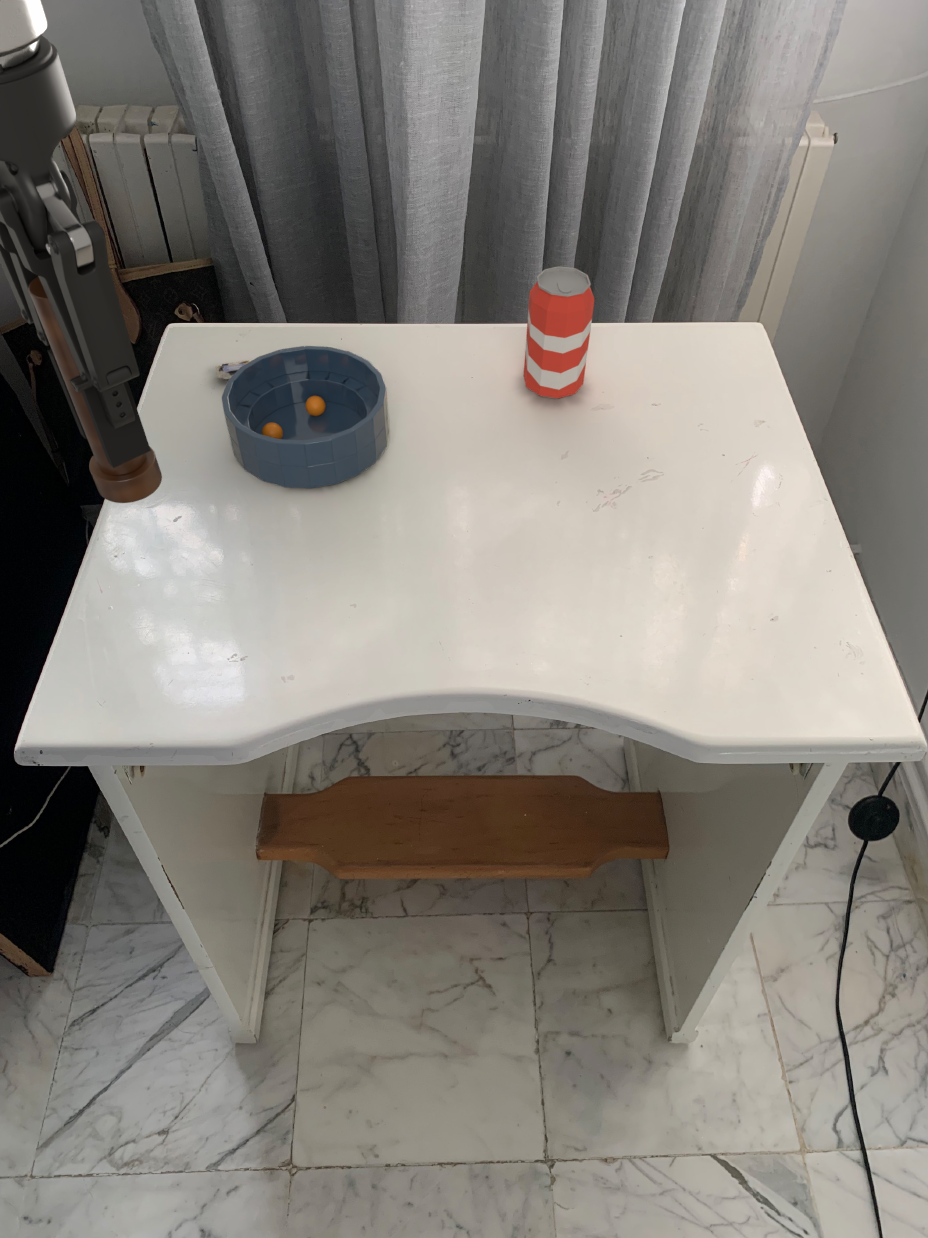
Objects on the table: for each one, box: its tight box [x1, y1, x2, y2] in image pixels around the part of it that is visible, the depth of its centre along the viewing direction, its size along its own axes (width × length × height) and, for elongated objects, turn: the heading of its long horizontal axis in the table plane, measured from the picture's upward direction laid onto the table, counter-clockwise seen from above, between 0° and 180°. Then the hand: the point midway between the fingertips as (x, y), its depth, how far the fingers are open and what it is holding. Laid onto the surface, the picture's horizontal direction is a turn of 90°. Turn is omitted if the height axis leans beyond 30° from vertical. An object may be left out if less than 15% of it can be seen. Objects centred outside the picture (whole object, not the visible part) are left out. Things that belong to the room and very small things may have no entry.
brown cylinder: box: [28, 276, 163, 504], centre depth 57 cm, size 4×4×15 cm
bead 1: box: [262, 423, 283, 439], centre depth 86 cm, size 2×2×2 cm
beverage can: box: [523, 265, 595, 400], centre depth 90 cm, size 6×6×12 cm
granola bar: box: [215, 359, 253, 380], centre depth 95 cm, size 7×2×1 cm, turn 103°
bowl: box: [221, 345, 390, 489], centre depth 86 cm, size 15×15×6 cm
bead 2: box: [305, 396, 326, 416], centre depth 89 cm, size 2×2×2 cm
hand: (115, 441), depth 60 cm, fingers closed on brown cylinder, 3 cm apart
